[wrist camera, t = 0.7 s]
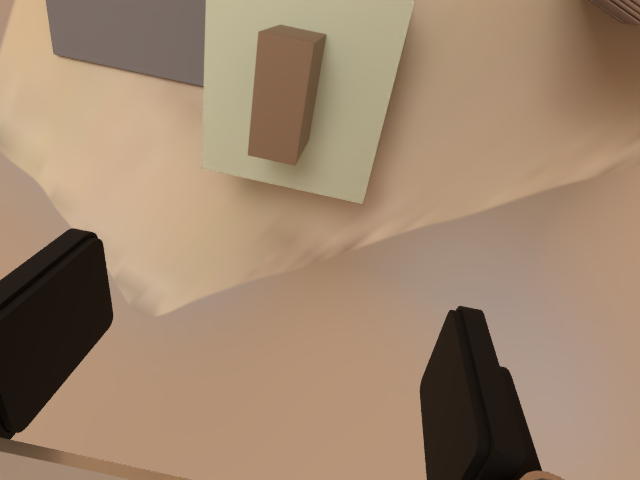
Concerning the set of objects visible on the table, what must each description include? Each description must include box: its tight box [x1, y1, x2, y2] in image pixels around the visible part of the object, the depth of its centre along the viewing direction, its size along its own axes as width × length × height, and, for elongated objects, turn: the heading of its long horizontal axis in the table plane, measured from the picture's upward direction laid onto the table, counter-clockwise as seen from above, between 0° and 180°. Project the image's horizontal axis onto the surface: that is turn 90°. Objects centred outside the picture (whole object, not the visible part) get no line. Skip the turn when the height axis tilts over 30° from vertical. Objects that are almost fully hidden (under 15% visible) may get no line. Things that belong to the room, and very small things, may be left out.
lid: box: [201, 0, 415, 204], centre depth 24 cm, size 13×11×7 cm
